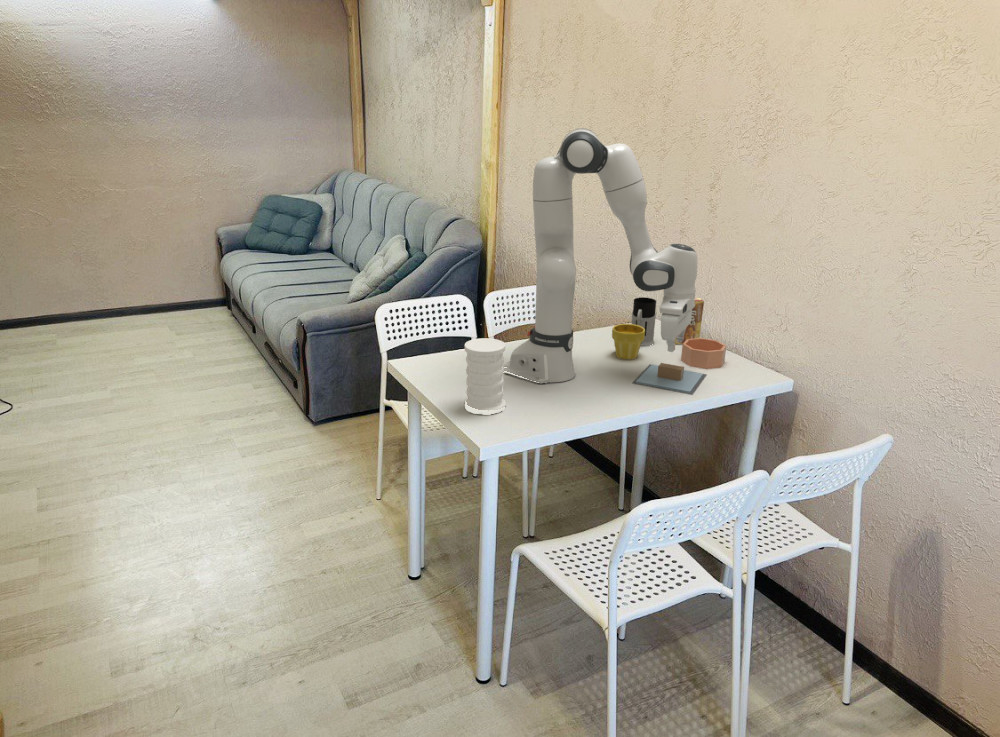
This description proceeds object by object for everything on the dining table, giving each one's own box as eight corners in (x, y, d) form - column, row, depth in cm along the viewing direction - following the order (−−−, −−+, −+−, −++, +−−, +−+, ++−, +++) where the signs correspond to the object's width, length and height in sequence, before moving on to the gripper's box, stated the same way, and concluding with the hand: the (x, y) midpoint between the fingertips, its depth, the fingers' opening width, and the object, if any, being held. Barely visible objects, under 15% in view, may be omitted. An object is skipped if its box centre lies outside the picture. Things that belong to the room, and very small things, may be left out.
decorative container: (457, 402, 196) (456, 340, 189) (495, 395, 200) (496, 335, 194) (473, 418, 186) (472, 354, 179) (513, 411, 190) (514, 348, 184)
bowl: (677, 365, 224) (679, 347, 222) (687, 353, 234) (689, 336, 232) (718, 372, 218) (720, 354, 216) (726, 359, 229) (728, 342, 226)
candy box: (693, 339, 247) (698, 297, 242) (699, 343, 244) (704, 300, 238) (670, 341, 246) (674, 298, 240) (676, 345, 242) (680, 301, 236)
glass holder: (656, 340, 247) (660, 298, 241) (648, 352, 234) (652, 309, 229) (631, 336, 250) (635, 295, 244) (622, 349, 238) (625, 306, 232)
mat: (631, 384, 209) (631, 383, 208) (649, 365, 223) (649, 364, 223) (692, 396, 201) (692, 395, 201) (707, 375, 215) (707, 374, 215)
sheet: (635, 382, 209) (636, 370, 207) (651, 365, 222) (653, 353, 221) (689, 393, 202) (691, 380, 200) (703, 375, 215) (704, 362, 213)
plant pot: (633, 364, 224) (635, 335, 220) (604, 357, 230) (606, 329, 226) (648, 355, 232) (650, 327, 228) (620, 349, 237) (622, 321, 234)
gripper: (677, 291, 213) (674, 334, 218) (657, 308, 196) (655, 355, 201) (698, 293, 210) (695, 337, 215) (680, 311, 193) (676, 358, 198)
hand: (675, 346), depth 208 cm, fingers open, 8 cm apart
